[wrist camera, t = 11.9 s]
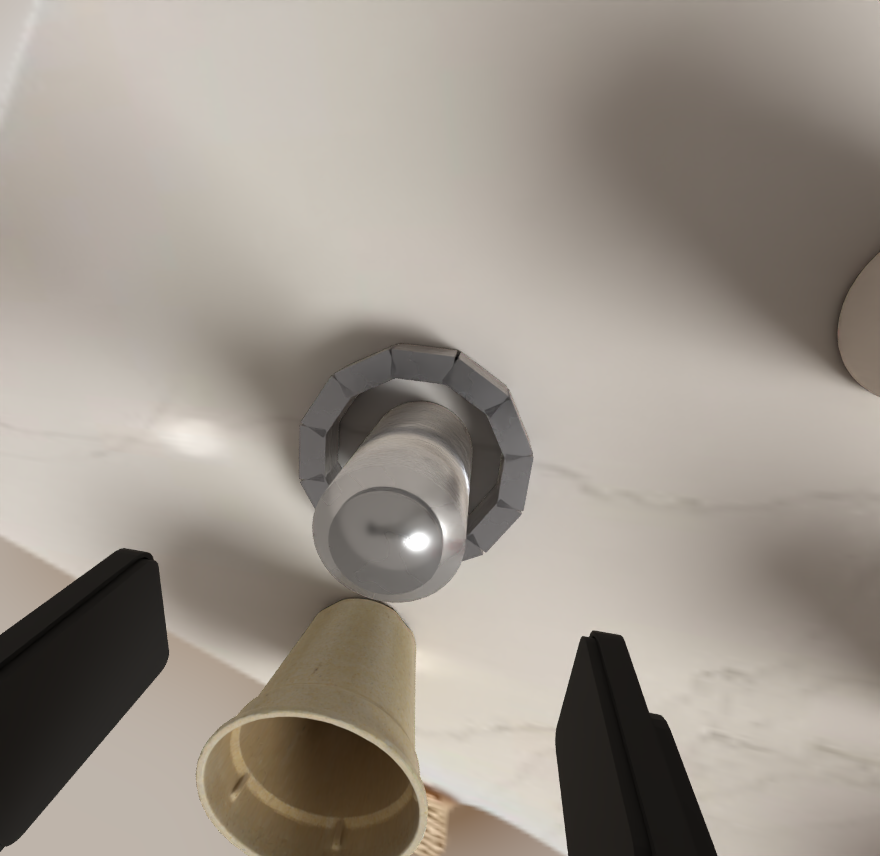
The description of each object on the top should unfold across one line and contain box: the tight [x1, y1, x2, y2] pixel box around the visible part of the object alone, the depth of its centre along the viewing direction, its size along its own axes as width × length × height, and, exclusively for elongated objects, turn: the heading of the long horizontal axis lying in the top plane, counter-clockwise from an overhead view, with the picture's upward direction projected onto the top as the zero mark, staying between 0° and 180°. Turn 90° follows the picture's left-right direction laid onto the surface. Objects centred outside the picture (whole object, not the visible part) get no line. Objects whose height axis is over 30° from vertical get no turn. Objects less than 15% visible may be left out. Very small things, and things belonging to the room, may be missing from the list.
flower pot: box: [196, 598, 428, 856], centre depth 22 cm, size 9×9×9 cm
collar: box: [299, 343, 533, 561], centre depth 21 cm, size 10×10×2 cm
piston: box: [312, 401, 473, 602], centre depth 18 cm, size 5×5×8 cm
